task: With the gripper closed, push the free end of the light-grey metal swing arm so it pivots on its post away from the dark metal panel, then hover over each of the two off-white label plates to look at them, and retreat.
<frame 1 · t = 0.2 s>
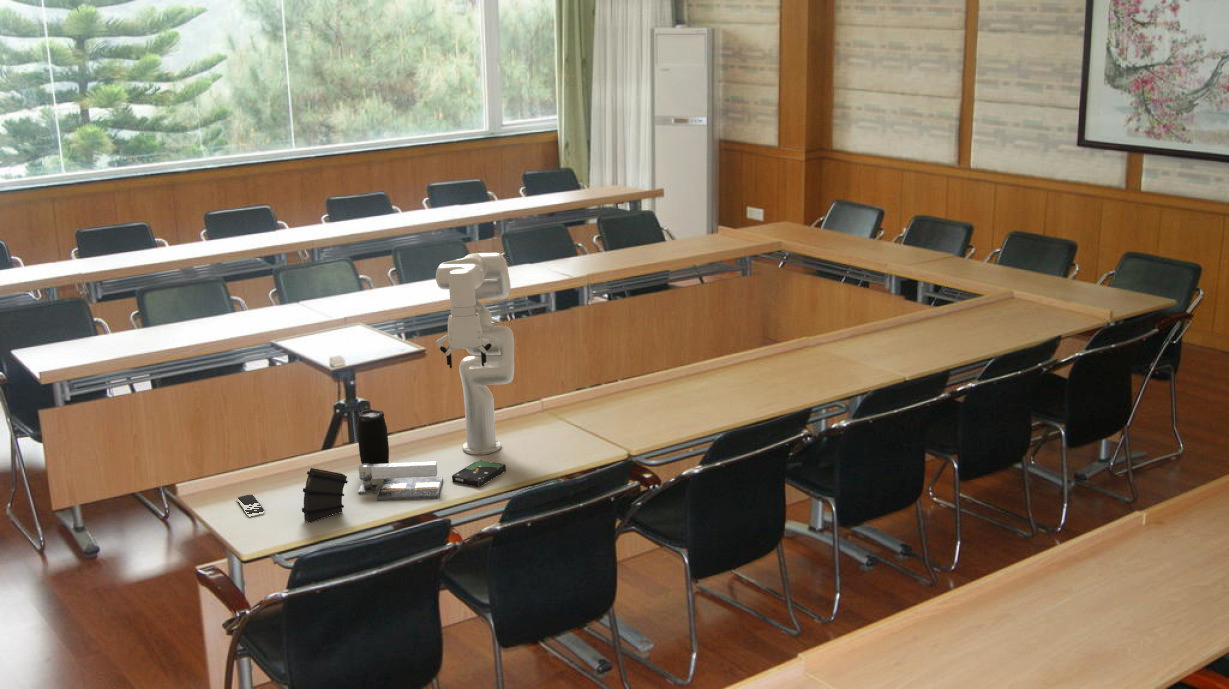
hand: (466, 366, 360), 36 cm above the table, tool pointing down, fingers open, 9 cm apart
pivot post: (368, 490, 362), on the table
psu panel: (410, 490, 362), on the table
portable speaker: (376, 472, 377), on the table
disk drive: (479, 478, 371), on the table
remote control: (251, 508, 353), on the table
swing arm: (397, 470, 361), point 6 cm above the table, hinge at 0.0°
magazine: (327, 515, 346), on the table
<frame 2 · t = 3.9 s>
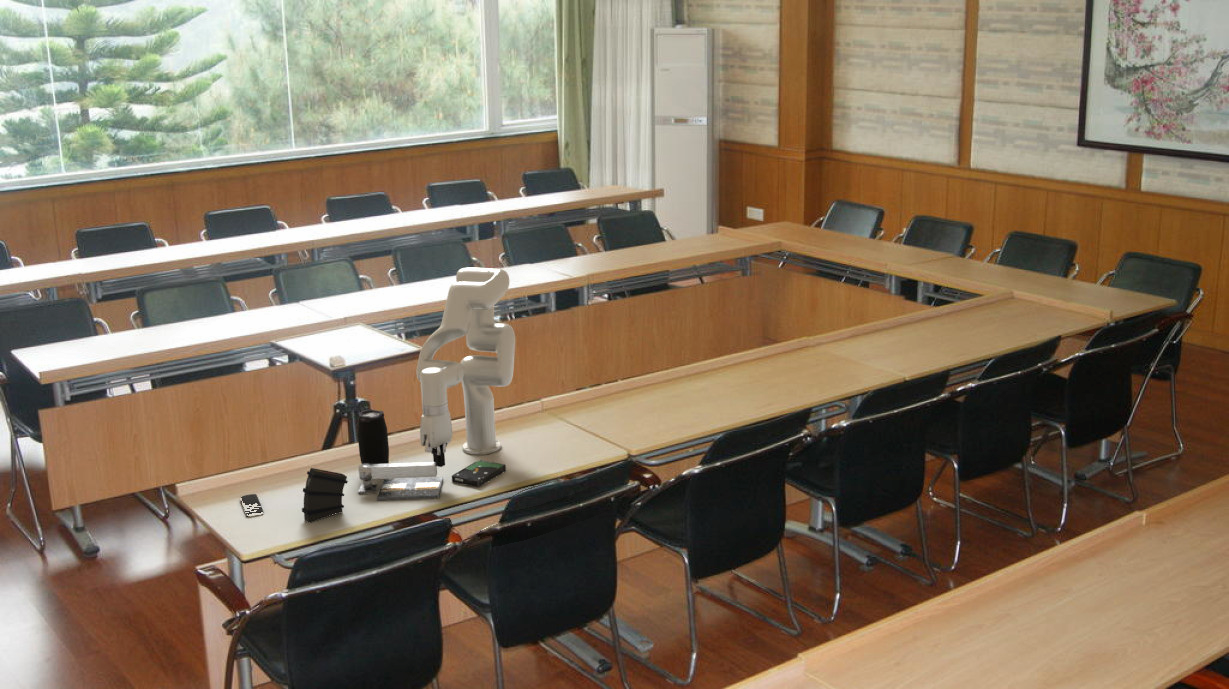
hand: (439, 465, 364), 6 cm above the table, tool pointing down, fingers closed
swing arm: (397, 470, 361), point 6 cm above the table, hinge at 0.8°, touching gripper
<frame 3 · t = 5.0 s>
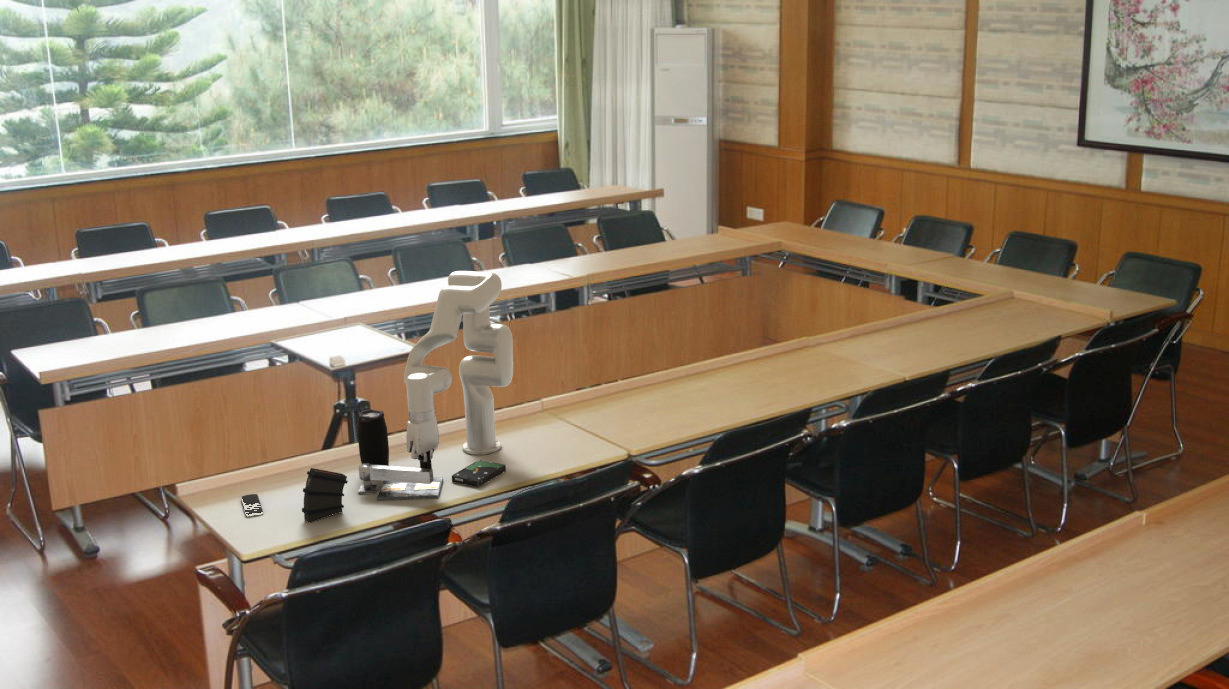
hand: (426, 472, 359), 6 cm above the table, tool pointing down, fingers closed
swing arm: (395, 473, 358), point 6 cm above the table, hinge at 16.3°, touching gripper
everything else where it was.
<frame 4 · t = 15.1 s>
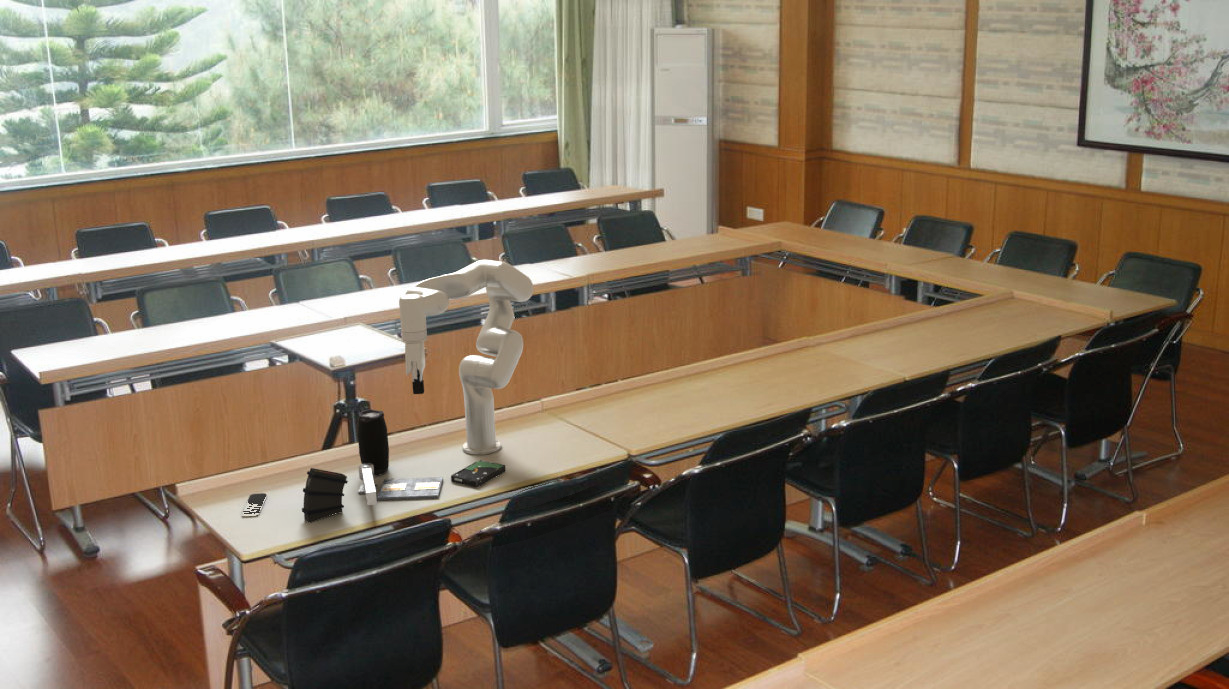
hand: (418, 393, 365), 27 cm above the table, tool pointing down, fingers closed
swing arm: (368, 483, 352), point 6 cm above the table, hinge at 76.7°
at the end: swing arm at +77° (first picture: +0°) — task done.
